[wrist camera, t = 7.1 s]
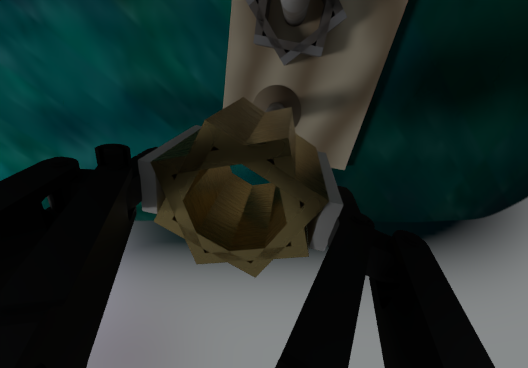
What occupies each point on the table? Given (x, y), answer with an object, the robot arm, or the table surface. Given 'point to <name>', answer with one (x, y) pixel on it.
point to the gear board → (312, 63)
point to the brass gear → (242, 188)
